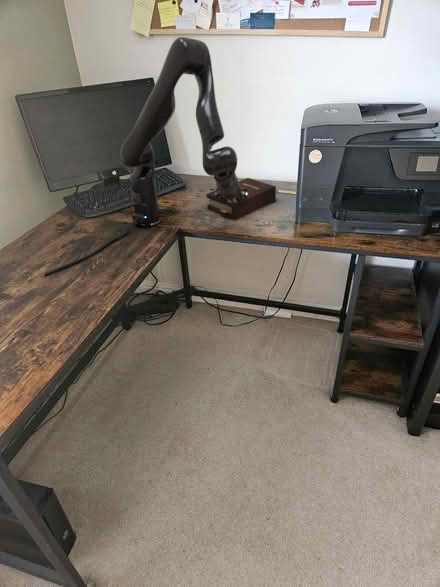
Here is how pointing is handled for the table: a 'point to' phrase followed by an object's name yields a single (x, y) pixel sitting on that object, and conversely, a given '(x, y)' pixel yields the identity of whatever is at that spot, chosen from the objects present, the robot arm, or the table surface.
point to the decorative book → (257, 199)
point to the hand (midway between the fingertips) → (234, 203)
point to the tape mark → (287, 192)
